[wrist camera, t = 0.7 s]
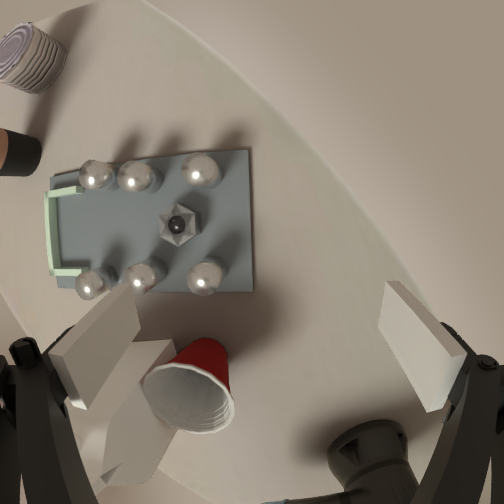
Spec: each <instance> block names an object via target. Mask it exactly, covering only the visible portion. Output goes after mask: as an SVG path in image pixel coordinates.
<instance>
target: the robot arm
mask: <svg viewBox="0 0 504 504" xmlns="http://www.w3.org/2000/svg"><path fill="white" fill-rule="evenodd" d="M140 329H141V327H140V322H139V318H138V313H137V308H136V304H135V299H134V293H133V288H132V284H129V283H119V284H118V285H117V286H116V287H115V288H114V289H113V290H111V291H110V292H109V293H108V294H107V295H106V296H105V297H104V298H103V299H102V300H101V301H100V302H99V303H98V304H97V305H95V306H94V307H93V308H92V309H91V310H90V311H89V312H88V313H87V314H86V315H85V316H84V317H83V318H82V319H81V320H80V321H79V322H78V323H77V324H75V325H73V326H72V327H70V328H68V329H66V330H65V331H64V332H63V333H62V334H61V336H59V337H58V338H57V339H56V341H54V342H53V343H52V344H51V345H50V346H49V347H48V348H47V349H46V350H45V351H44V352H43V353H42V355H41V353H40V350H39V348H38V346H37V343H36V341H35V339H33V338H31V337H25V338H21V339H18V340H17V341H15V342H13V343H12V345H11V346H10V348H9V351H10V353H11V356H12V358H13V360H14V362H15V364H16V365H8V363H7V360H6V358H5V357H4V356H3V355H0V400H1V401H2V402H3V404H4V405H3V408H1V405H0V504H20V480H21V474H22V479H23V485H24V490H25V495H26V499H27V504H98V501H97V499H96V497H95V494H94V492H93V489H92V487H91V484H90V482H89V479H88V477H87V474H86V471H85V468H84V465H83V463H82V460H81V457H80V453H79V450H78V447H77V444H76V440H75V437H74V433H73V430H72V426H71V422H70V418H69V414H68V409H67V406H66V404H65V403H64V401H65V399H66V398H67V396H68V397H69V399H70V401H71V403H72V405H73V406H75V407H78V408H82V409H85V410H88V409H89V407H90V405H91V404H92V402H93V401H94V399H95V397H96V396H97V394H98V393H99V391H100V389H101V388H102V386H103V385H104V383H105V382H106V380H107V379H108V377H109V375H110V374H111V372H112V371H113V369H114V368H115V366H116V365H117V363H118V362H119V360H120V359H121V357H122V356H123V354H124V353H125V351H126V350H127V348H128V347H129V345H130V344H131V342H132V341H133V339H134V338H135V336H136V335H137V333H138V332H139V331H140ZM378 329H379V330H380V332H381V333H382V335H383V337H384V338H385V340H386V342H387V343H388V345H389V347H390V348H391V350H392V352H393V353H394V355H395V357H396V358H397V360H398V362H399V363H400V365H401V367H402V369H403V370H404V372H405V374H406V376H407V377H408V379H409V381H410V383H411V384H412V386H413V388H414V390H415V392H416V393H417V395H418V397H419V399H420V401H421V403H422V404H423V406H424V408H425V410H426V412H431V411H435V410H438V409H442V408H443V406H444V404H445V402H446V400H447V398H449V400H450V401H451V403H452V404H451V406H450V408H449V410H448V411H447V413H446V415H445V417H444V418H443V420H442V423H444V425H443V428H442V431H441V434H440V437H439V440H438V442H437V445H436V448H435V450H434V453H433V455H432V458H431V460H430V463H429V465H428V467H427V470H426V472H425V474H424V476H423V478H422V481H421V483H420V485H419V484H418V482H417V479H416V477H415V475H414V473H413V471H412V469H411V467H410V465H409V462H408V442H407V436H406V434H405V432H404V430H403V428H402V427H401V425H400V424H398V423H396V422H394V421H390V420H376V421H371V422H367V423H364V424H361V425H359V426H356V427H354V428H352V429H350V430H349V431H347V432H345V433H344V434H343V435H341V436H340V437H339V438H338V439H337V440H336V441H335V442H334V443H333V444H332V445H331V447H330V449H329V451H328V455H327V458H328V464H329V468H330V470H331V472H332V473H333V474H334V476H335V477H336V478H337V480H338V481H339V482H340V484H341V485H342V486H343V488H344V492H341V493H335V494H330V495H325V496H319V497H312V498H304V499H294V500H289V499H285V500H283V501H275V502H266V503H262V504H478V503H479V499H480V496H481V493H482V490H483V486H484V482H485V478H486V475H487V471H488V466H489V462H490V457H491V467H492V480H491V482H492V483H491V504H504V365H499V363H498V362H497V361H496V360H495V359H494V358H492V357H490V356H488V355H482V354H481V355H477V354H476V353H475V352H474V351H473V350H472V349H471V348H470V347H469V346H468V344H467V343H466V342H465V341H464V340H462V338H461V337H460V336H459V335H457V333H456V331H455V330H454V329H453V328H452V327H450V326H448V325H447V324H445V323H443V322H439V321H438V320H437V319H436V318H435V317H434V316H433V315H432V314H431V313H430V312H429V311H428V310H427V309H426V308H425V307H424V306H423V305H422V304H421V303H420V302H419V301H418V300H417V299H416V298H415V297H414V296H413V295H412V294H411V293H410V292H409V291H408V290H407V289H406V288H405V287H404V286H403V285H402V284H401V283H400V282H399V281H386V283H385V290H384V296H383V302H382V308H381V313H380V318H379V324H378Z"/></svg>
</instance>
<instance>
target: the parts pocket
mask: <svg viewBox="0 0 504 504" xmlns="http://www.w3.org/2000/svg"><path fill="white" fill-rule="evenodd" d="M81 193H84V187H82V186H72V187H67V188H62V189H57V190H52V191H47V192H44V207H45V229H46V242H47V252H48V261H49V269H50V275H56V276H78V275H79V274H81V273H83V272H86V271H89V268H88V267H61V262H60V253H59V242H58V229H57V208H56V198H58V197H63V196H69V195H75V194H81Z"/></svg>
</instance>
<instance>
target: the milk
mask: <svg viewBox="0 0 504 504" xmlns="http://www.w3.org/2000/svg"><path fill="white" fill-rule="evenodd" d="M175 356H177V353H176V350H175V347H174V343H173V340H172V339H167V340H154V341H140V342H131V344H130V345H129V347H128V348H127V350H126V351H125V353H124V354H123V356H122V357H121V359H120V360H119V362H118V363H117V365H116V366H115V368H114V369H113V371H112V372H111V374H110V375H109V377H108V379H107V380H106V382H105V383H104V385H103V386H102V388H101V389H100V391H99V393H98V394H97V396H96V397H95V399H94V401H93V402H92V404H91V405H90V407H89V409H88V410H85V409H82V408H78V407H75V406H73V405H72V403H71V401H70V399H69V397H68V396H67V398H66V399H65V401H64V403H65V404H66V406H67V409H68V414H69V418H70V422H71V426H72V430H73V433H74V437H75V440H76V444H77V447H78V450H79V453H80V457H81V460H82V463H83V465H84V468H85V471H86V474H87V477H88V479H89V482H90V484H91V487H92V489H93V492H94V494H95V495H97V494H98V493H99V492H100V491H102V490H103V489H104V488H105V487H106V486H107V485H133V484H142V483H145V482H147V481H148V480H149V479H150V478H151V477H152V475H153V474H154V472H155V470H156V468H157V466H158V465H159V463H160V461H161V459H162V457H163V455H164V454H165V452H166V450H167V448H168V446H169V444H170V443H171V441H172V439H173V437H174V435H175V433H176V432H177V430H178V429H177V428H175V427H173V426H170V425H168V424H167V423H166V422H164V421H163V420H162V419H160V418H159V417H158V416H157V415H155V414H154V412H153V411H152V409H151V407H150V405H149V403H148V401H147V399H146V397H145V395H144V393H143V389H142V387H143V383H144V380H145V376H146V375H147V374H148V373H149V372H151V371H152V370H153V369H154V368H155V367H157V366H159V365H164V364H165V363H167V362H169V361H170V360H172V359H173V358H174V357H175Z"/></svg>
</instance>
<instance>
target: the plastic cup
mask: <svg viewBox="0 0 504 504" xmlns="http://www.w3.org/2000/svg"><path fill="white" fill-rule="evenodd" d="M142 389H143V393H144V395H145V397H146V399H147V401H148V403H149V405H150V407H151V409H152V411H153V412H154V414H155V415H157V416H158V417H159V418H160V419H162V420H163V421H164V422H166V423H167V424H168V425H170V426H173V427H175V428H177V429H179V430H182V431H184V432H190V433H196V434H207V433H215V432H218V431H219V430H221V429H223V428H225V427H227V426H228V425H229V423H230V422H231V420H232V418H233V417H234V399H233V398H232V396H231V393H230V386H229V372H228V363H227V353H226V351H225V349H224V347H223V346H222V345H221V344H220V343H219V342H217V341H215V340H213V339H210V338H201V339H198V340H195V341H193V342H192V343H191V344H190V345H189V346H187V347H186V348H185V349H183V350H182V351H181V352H180V353H179V354H178V355H177V356H175V357H174V358H173V359H172V360H170V361H169V362H167V363H165V364H164V365H159V366H157V367H155V368H154V369H153V370H152V371H151V372H149V373H148V374H147V375H146V376H145V380H144V383H143V387H142Z"/></svg>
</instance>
